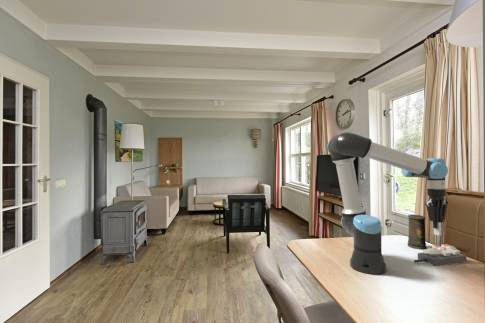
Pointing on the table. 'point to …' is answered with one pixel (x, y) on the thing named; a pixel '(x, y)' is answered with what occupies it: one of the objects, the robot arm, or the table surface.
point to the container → (416, 232)
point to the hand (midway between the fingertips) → (437, 234)
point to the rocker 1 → (432, 251)
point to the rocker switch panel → (440, 259)
